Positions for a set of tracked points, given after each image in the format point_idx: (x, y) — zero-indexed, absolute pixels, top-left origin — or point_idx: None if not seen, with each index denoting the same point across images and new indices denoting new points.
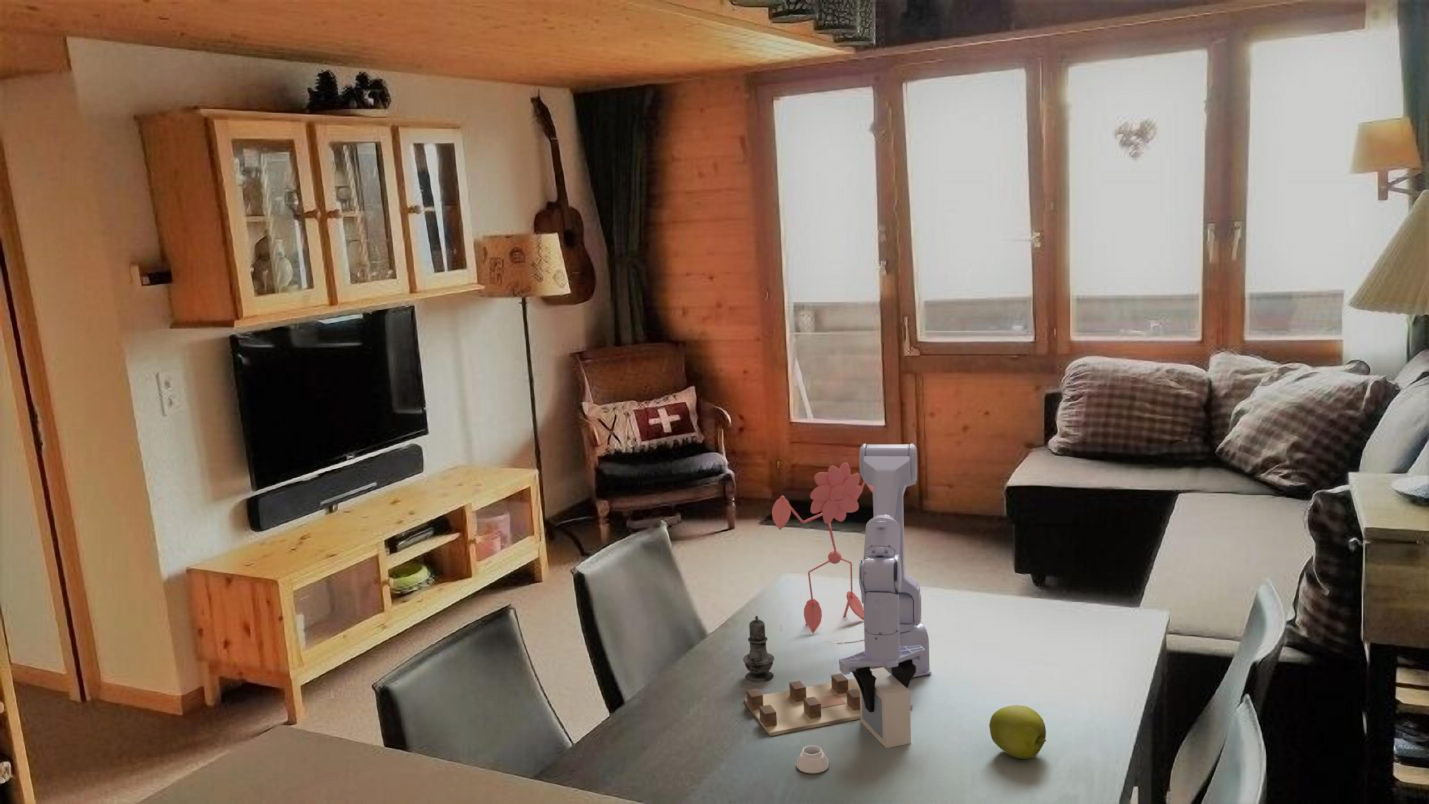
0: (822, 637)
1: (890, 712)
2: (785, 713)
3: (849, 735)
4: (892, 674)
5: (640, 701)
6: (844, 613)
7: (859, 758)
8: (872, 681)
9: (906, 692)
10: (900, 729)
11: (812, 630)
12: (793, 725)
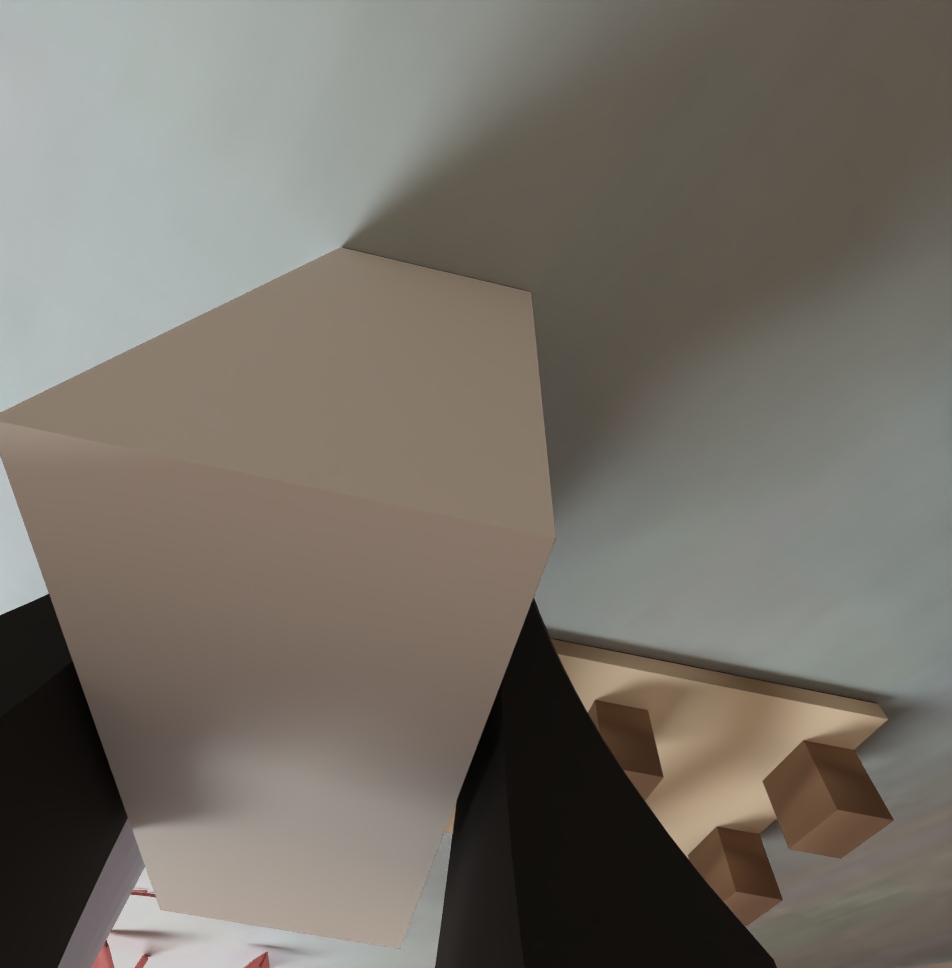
0: (252, 934)
1: (469, 377)
2: (690, 775)
3: (594, 533)
4: (120, 824)
5: (920, 962)
6: (143, 964)
7: (778, 281)
8: (582, 902)
9: (85, 422)
10: (394, 293)
11: (264, 962)
12: (754, 709)
